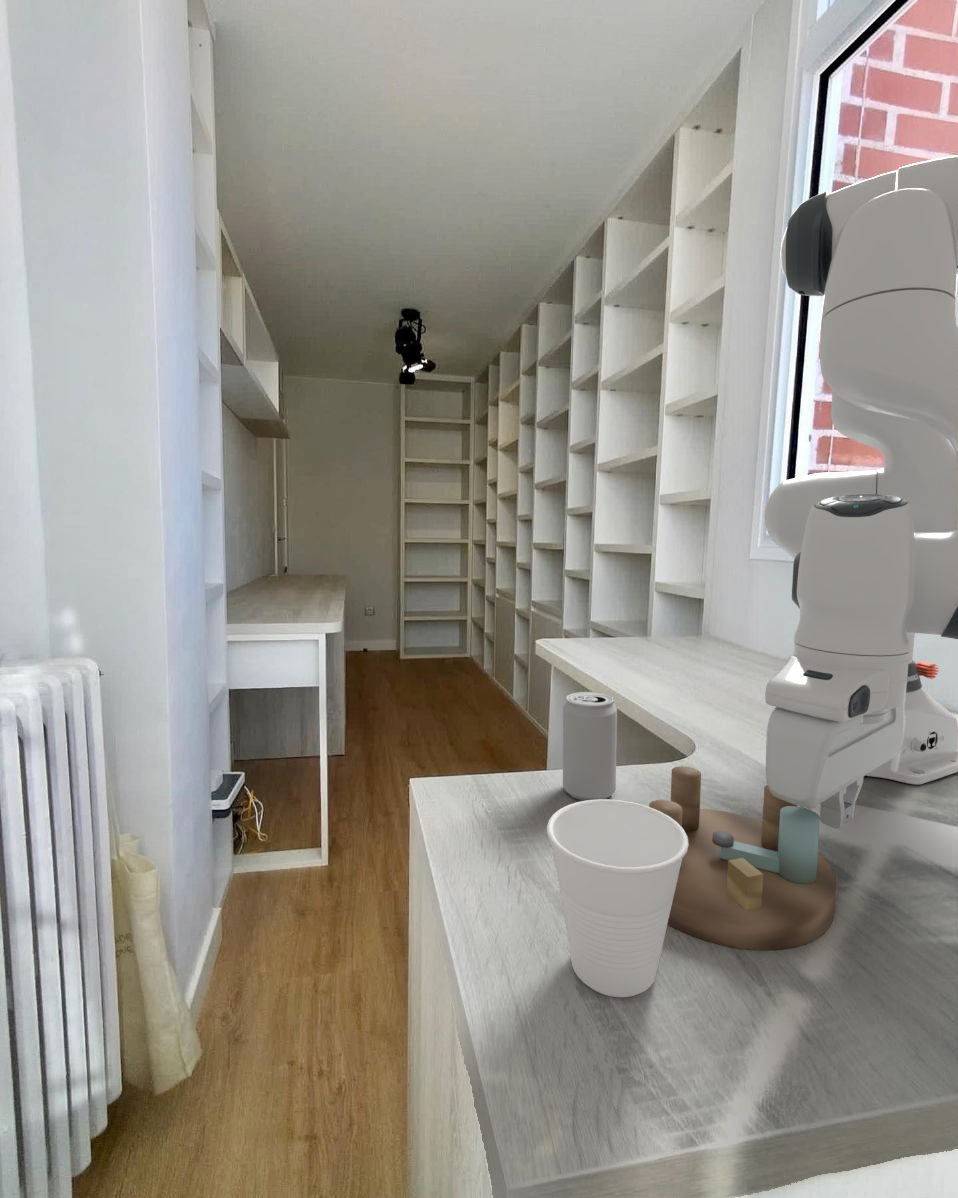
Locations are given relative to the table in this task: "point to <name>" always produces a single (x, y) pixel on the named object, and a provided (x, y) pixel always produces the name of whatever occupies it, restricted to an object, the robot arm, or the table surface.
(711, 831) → the stool seat
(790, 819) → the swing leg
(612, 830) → the cup
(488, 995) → the table surface
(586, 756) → the beverage can
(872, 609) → the robot arm
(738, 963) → the table surface
